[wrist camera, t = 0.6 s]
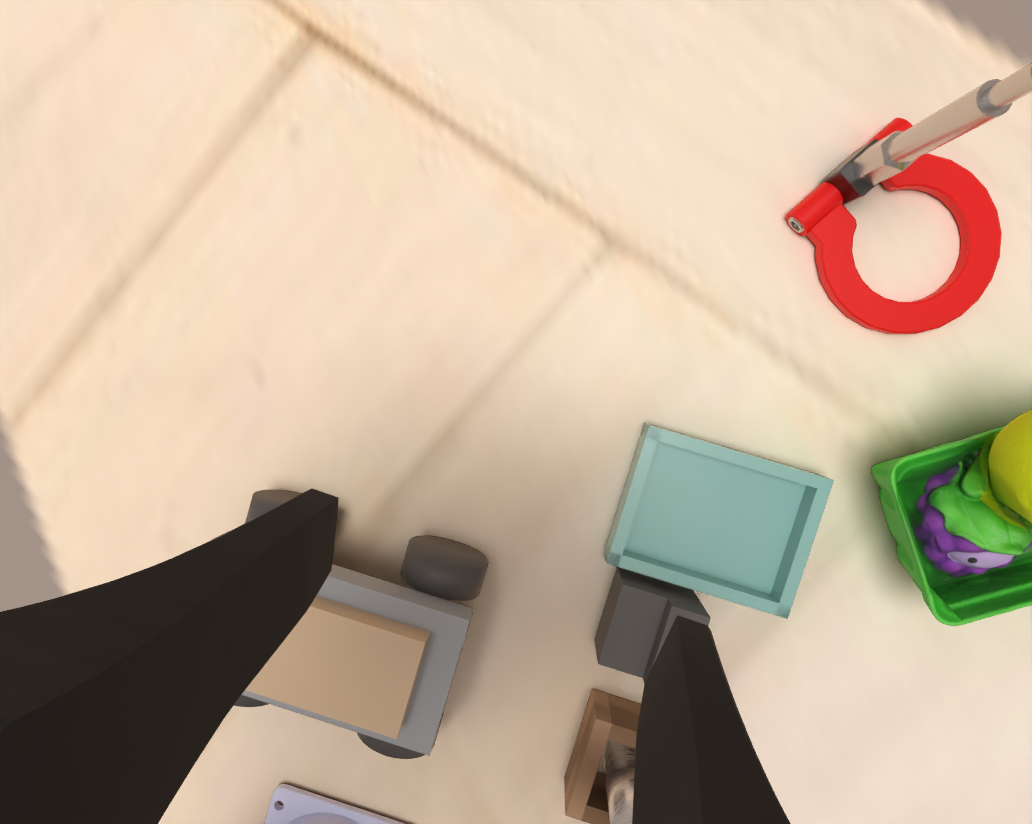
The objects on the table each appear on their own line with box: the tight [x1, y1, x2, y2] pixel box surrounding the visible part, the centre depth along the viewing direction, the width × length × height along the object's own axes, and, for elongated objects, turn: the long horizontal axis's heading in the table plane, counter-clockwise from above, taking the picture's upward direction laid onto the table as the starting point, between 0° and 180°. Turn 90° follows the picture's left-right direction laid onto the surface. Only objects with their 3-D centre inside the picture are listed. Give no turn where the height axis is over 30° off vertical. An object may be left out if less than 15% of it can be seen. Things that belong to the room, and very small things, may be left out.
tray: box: [604, 423, 834, 619], centre depth 32 cm, size 7×9×2 cm
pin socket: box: [565, 689, 641, 824], centre depth 33 cm, size 5×5×3 cm
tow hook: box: [786, 63, 1032, 334], centre depth 26 cm, size 8×13×9 cm
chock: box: [594, 567, 710, 683], centre depth 32 cm, size 4×4×4 cm
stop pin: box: [602, 740, 636, 824], centre depth 30 cm, size 3×3×9 cm
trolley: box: [212, 490, 488, 759], centre depth 31 cm, size 12×10×7 cm
